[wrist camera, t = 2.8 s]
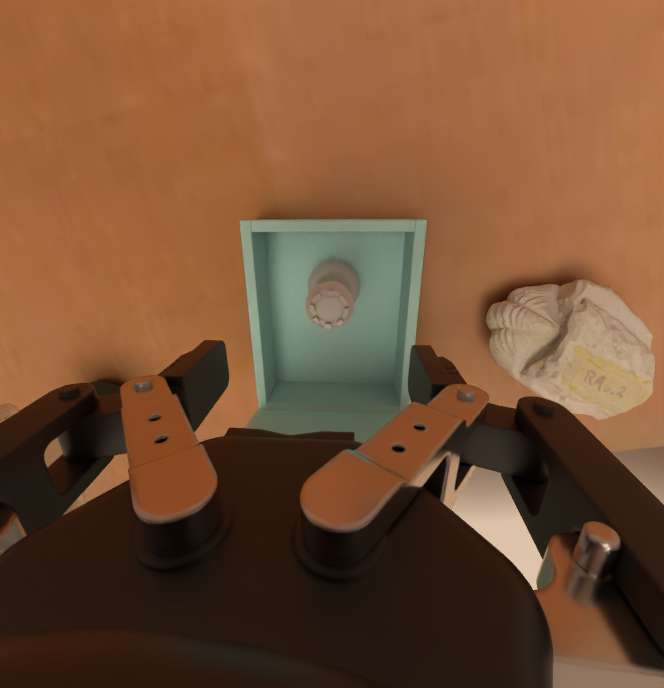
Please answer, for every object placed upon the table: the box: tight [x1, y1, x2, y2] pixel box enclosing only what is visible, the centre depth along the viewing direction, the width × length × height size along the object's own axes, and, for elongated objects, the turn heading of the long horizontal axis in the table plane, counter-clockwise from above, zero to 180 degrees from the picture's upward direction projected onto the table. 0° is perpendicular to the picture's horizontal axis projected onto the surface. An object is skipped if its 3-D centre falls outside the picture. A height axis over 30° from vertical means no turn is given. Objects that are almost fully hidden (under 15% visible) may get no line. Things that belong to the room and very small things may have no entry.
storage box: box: [240, 219, 427, 413], centre depth 28 cm, size 16×13×5 cm
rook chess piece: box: [305, 259, 360, 329], centre depth 25 cm, size 4×4×8 cm
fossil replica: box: [486, 279, 655, 420], centre depth 26 cm, size 12×8×10 cm
